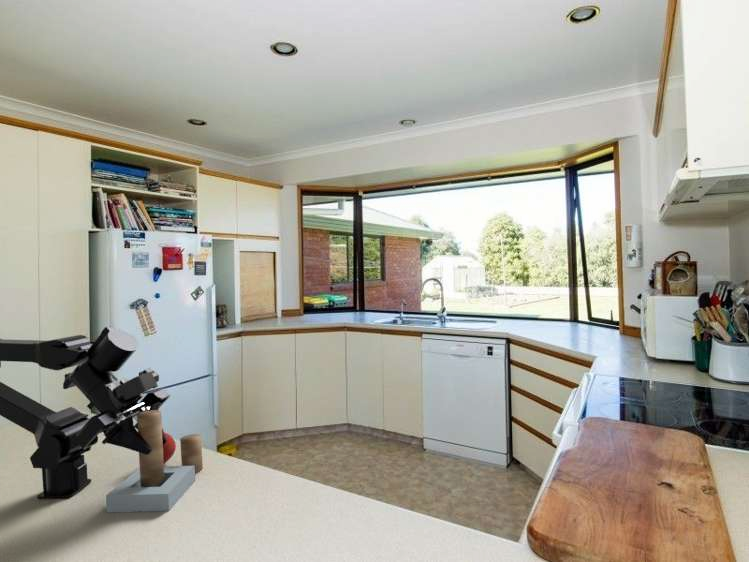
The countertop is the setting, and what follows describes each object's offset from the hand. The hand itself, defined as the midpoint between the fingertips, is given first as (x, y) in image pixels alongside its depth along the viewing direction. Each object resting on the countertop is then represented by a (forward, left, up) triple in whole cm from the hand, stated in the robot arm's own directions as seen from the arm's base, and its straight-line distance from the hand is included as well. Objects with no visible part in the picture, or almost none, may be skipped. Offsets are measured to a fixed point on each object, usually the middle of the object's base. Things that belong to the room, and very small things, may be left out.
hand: (157, 448), depth 84 cm
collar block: (-1, 0, -9) cm, 9 cm away
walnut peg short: (+2, +10, -9) cm, 14 cm away
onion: (-6, +13, -9) cm, 17 cm away
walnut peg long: (-1, 0, -7) cm, 7 cm away
